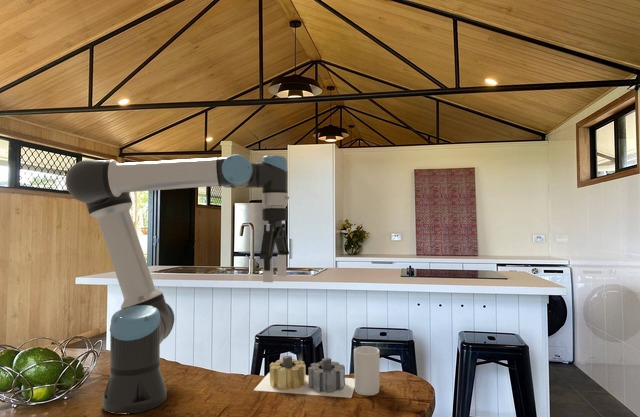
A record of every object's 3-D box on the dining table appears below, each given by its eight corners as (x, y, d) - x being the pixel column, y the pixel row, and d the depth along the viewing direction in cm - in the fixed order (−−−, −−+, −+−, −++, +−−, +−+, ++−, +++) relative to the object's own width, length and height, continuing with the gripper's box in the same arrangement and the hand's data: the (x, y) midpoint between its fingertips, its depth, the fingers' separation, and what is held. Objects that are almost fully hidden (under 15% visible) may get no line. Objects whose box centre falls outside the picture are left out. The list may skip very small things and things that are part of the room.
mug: (378, 402, 109) (378, 354, 109) (352, 400, 110) (351, 353, 111) (382, 387, 119) (381, 343, 119) (358, 385, 120) (357, 342, 120)
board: (253, 395, 114) (253, 363, 114) (268, 377, 126) (268, 348, 126) (351, 403, 108) (351, 369, 109) (357, 384, 121) (356, 353, 121)
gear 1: (265, 388, 115) (265, 369, 115) (276, 375, 124) (276, 357, 124) (300, 391, 113) (300, 371, 113) (308, 377, 122) (308, 359, 122)
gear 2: (312, 394, 111) (312, 374, 111) (306, 380, 120) (306, 362, 120) (348, 391, 112) (348, 371, 113) (339, 377, 122) (339, 359, 122)
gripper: (274, 206, 116) (274, 285, 115) (297, 208, 140) (298, 273, 140) (248, 206, 117) (248, 284, 117) (275, 208, 142) (275, 273, 141)
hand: (275, 278), depth 128 cm, fingers open, 13 cm apart
